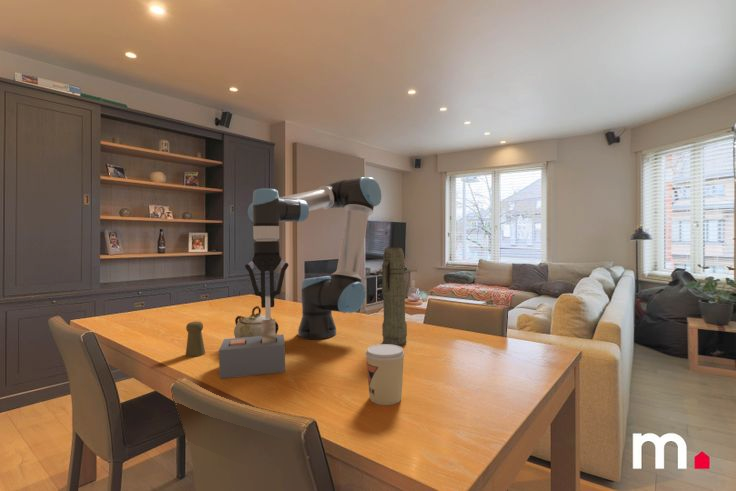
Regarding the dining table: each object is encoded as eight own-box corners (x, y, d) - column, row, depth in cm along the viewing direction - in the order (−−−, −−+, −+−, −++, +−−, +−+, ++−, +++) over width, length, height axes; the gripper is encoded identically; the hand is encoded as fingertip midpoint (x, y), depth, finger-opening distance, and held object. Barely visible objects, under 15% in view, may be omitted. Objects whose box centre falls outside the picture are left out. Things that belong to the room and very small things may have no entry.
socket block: (283, 358, 121) (283, 334, 121) (285, 371, 110) (284, 344, 110) (224, 364, 117) (224, 338, 117) (219, 378, 105) (218, 350, 105)
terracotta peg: (245, 365, 115) (245, 339, 114) (244, 369, 111) (244, 342, 111) (231, 366, 114) (231, 340, 113) (230, 370, 110) (229, 343, 110)
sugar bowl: (292, 345, 136) (291, 304, 135) (263, 358, 123) (262, 312, 122) (251, 339, 145) (250, 300, 144) (220, 350, 131) (219, 307, 131)
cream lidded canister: (364, 391, 95) (364, 344, 95) (401, 389, 96) (400, 342, 96) (368, 407, 86) (367, 356, 86) (408, 405, 87) (407, 354, 87)
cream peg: (275, 344, 117) (275, 319, 116) (275, 348, 113) (275, 321, 113) (262, 345, 116) (261, 319, 115) (262, 349, 112) (261, 322, 112)
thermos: (375, 344, 135) (374, 247, 134) (391, 336, 145) (390, 246, 144) (397, 348, 131) (396, 248, 130) (412, 340, 141) (411, 246, 140)
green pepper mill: (197, 357, 124) (196, 324, 124) (181, 356, 125) (180, 323, 125) (208, 351, 130) (208, 320, 130) (193, 351, 131) (192, 319, 131)
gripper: (288, 240, 119) (289, 314, 119) (244, 240, 115) (246, 317, 116) (289, 240, 111) (290, 319, 112) (243, 241, 108) (244, 322, 109)
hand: (268, 318), depth 114 cm, fingers closed
